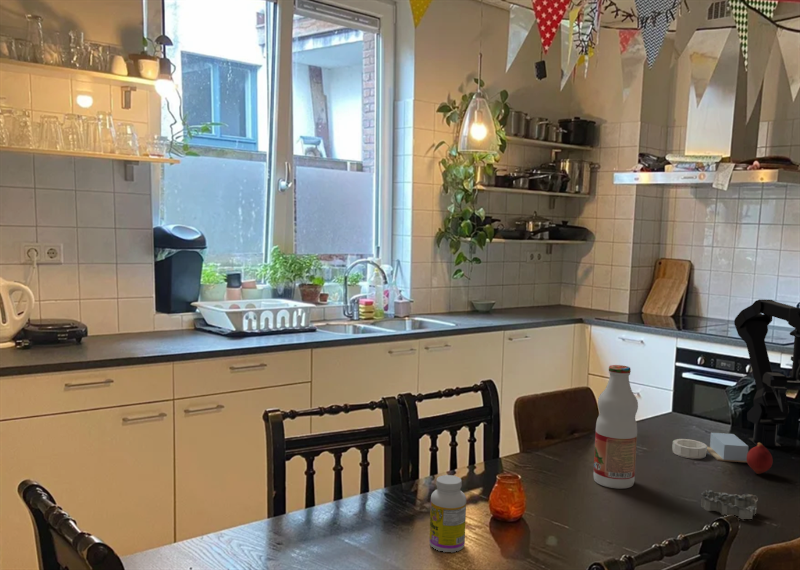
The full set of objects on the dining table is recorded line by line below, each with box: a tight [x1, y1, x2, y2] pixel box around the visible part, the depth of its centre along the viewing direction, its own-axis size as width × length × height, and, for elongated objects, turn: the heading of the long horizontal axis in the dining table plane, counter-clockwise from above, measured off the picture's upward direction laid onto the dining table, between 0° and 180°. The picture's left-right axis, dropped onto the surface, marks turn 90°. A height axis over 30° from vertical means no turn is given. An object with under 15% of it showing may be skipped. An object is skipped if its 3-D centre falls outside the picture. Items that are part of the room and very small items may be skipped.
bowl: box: [671, 438, 708, 460], centre depth 187 cm, size 8×8×3 cm
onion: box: [746, 443, 774, 475], centre depth 172 cm, size 6×6×8 cm
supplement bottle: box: [428, 474, 467, 553], centre depth 128 cm, size 7×7×13 cm
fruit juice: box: [593, 364, 639, 490], centre depth 163 cm, size 9×9×28 cm
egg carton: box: [700, 489, 759, 520], centre depth 149 cm, size 11×8×4 cm
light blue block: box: [709, 432, 749, 461], centre depth 187 cm, size 11×6×4 cm, turn 173°
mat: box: [707, 445, 747, 463], centre depth 187 cm, size 11×9×1 cm
